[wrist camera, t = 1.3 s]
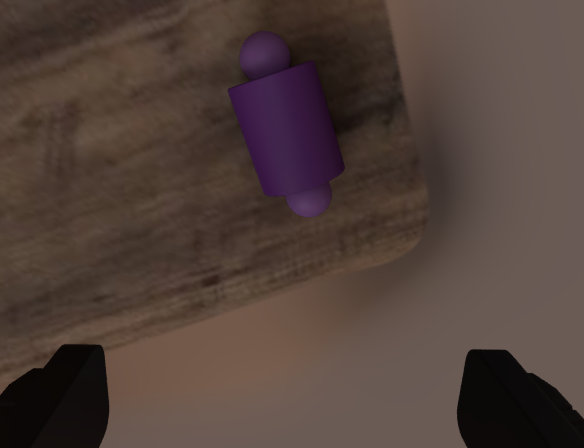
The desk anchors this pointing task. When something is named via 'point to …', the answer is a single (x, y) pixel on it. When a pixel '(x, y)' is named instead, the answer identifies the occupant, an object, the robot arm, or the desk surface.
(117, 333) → the desk surface
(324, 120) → the candy
